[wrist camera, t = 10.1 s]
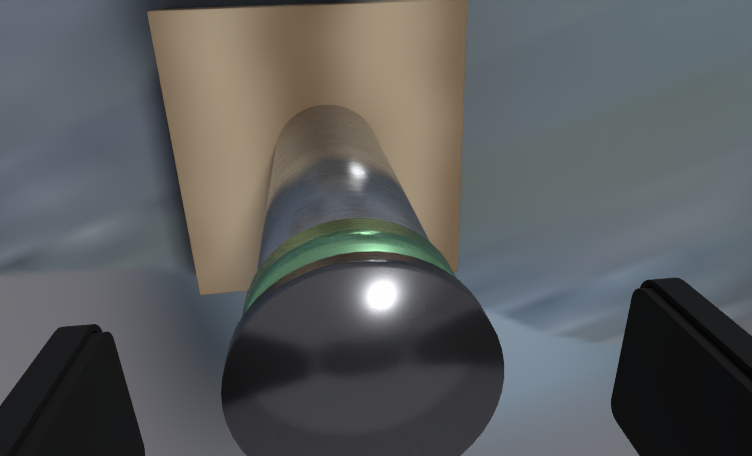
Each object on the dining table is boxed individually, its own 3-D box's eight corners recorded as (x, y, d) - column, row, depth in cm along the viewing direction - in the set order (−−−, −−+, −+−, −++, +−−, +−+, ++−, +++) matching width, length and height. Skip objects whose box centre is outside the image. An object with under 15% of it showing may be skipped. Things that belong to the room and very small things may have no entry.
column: (385, 93, 22) (514, 255, 9) (387, 207, 24) (495, 477, 11) (261, 100, 21) (198, 282, 8) (274, 216, 24) (241, 510, 10)
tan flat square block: (448, -2, 24) (467, 0, 21) (442, 245, 29) (457, 271, 26) (160, 8, 22) (141, 11, 20) (206, 264, 27) (195, 295, 25)
